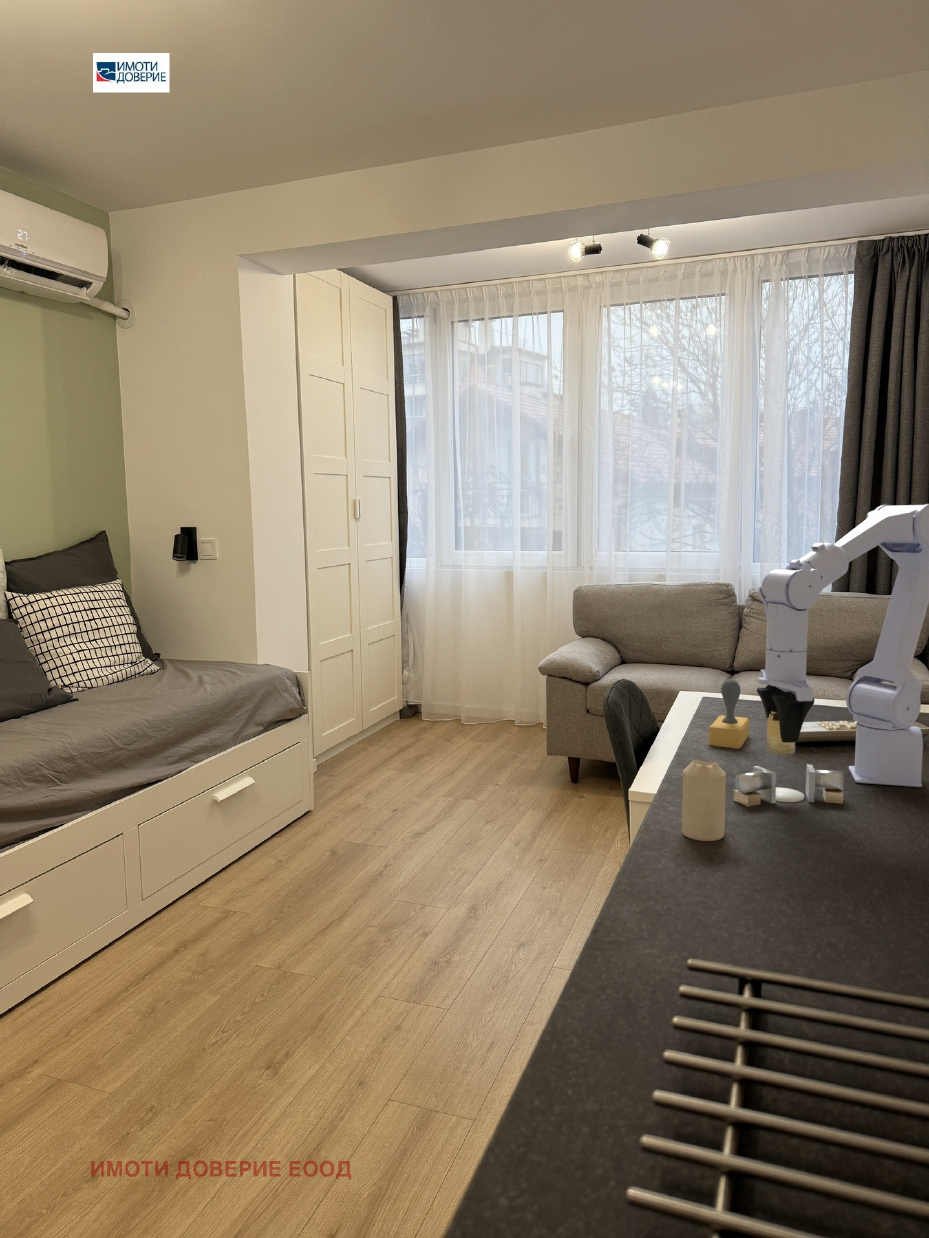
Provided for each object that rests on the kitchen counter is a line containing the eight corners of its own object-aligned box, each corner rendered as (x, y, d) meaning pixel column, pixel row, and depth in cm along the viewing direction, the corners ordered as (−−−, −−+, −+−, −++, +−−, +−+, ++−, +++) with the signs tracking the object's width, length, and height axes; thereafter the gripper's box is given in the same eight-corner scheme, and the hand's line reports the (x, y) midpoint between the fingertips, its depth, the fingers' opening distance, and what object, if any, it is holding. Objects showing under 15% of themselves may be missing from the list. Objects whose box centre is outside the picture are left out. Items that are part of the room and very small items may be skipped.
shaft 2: (808, 801, 124) (809, 771, 123) (805, 793, 127) (806, 764, 127) (843, 804, 122) (844, 774, 122) (839, 795, 126) (840, 766, 125)
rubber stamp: (740, 749, 152) (742, 685, 151) (708, 745, 155) (710, 682, 153) (749, 736, 161) (750, 675, 160) (718, 733, 164) (720, 673, 162)
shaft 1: (756, 794, 127) (757, 765, 126) (775, 802, 123) (776, 772, 123) (731, 799, 125) (732, 769, 124) (750, 807, 121) (751, 777, 121)
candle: (726, 829, 113) (728, 758, 112) (721, 844, 108) (723, 769, 107) (685, 823, 115) (687, 754, 114) (678, 837, 110) (679, 764, 109)
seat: (802, 791, 128) (802, 789, 128) (806, 803, 123) (806, 801, 123) (761, 787, 130) (761, 786, 130) (763, 800, 124) (763, 798, 124)
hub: (783, 746, 129) (784, 709, 128) (800, 753, 125) (801, 715, 124) (761, 748, 127) (762, 711, 127) (777, 755, 124) (779, 717, 123)
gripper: (742, 642, 131) (740, 726, 133) (779, 657, 117) (776, 751, 119) (786, 641, 131) (783, 725, 133) (828, 656, 117) (824, 750, 119)
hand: (783, 737), depth 126 cm, fingers closed on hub, 4 cm apart
